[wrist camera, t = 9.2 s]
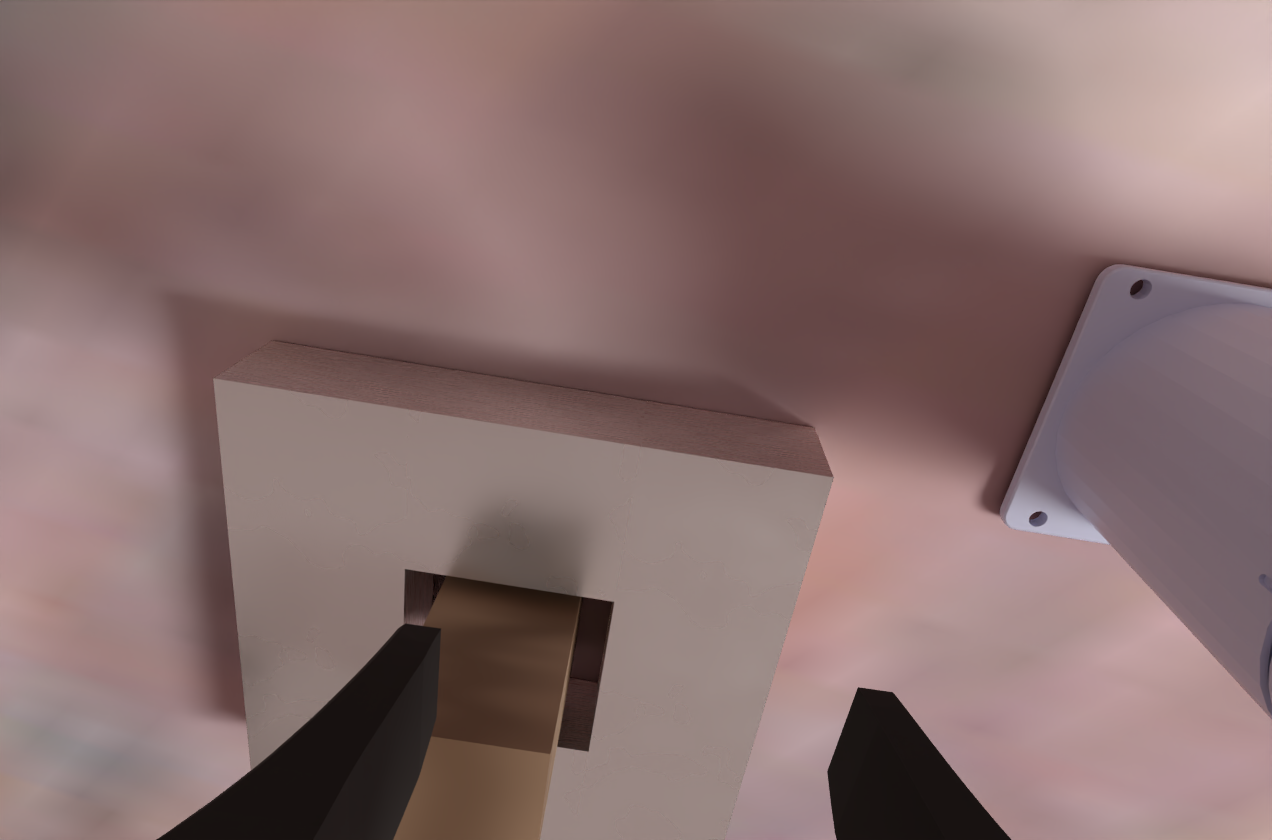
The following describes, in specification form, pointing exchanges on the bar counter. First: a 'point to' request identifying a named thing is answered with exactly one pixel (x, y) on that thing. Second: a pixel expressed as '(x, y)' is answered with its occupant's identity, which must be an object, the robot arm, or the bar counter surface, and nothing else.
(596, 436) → the collar
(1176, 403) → the robot arm
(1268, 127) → the bar counter surface
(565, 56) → the bar counter surface
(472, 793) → the pin
